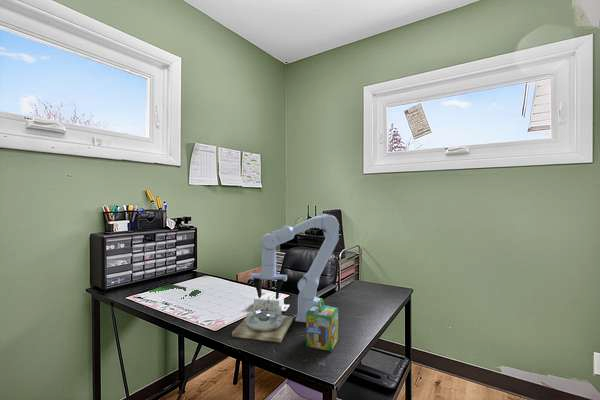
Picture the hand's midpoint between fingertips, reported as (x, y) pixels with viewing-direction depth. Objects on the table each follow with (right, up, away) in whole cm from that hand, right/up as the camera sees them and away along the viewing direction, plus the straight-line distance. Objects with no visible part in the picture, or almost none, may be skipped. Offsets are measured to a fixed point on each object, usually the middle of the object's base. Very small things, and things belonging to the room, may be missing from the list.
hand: (268, 297), depth 114 cm
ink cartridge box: (-7, -7, +16) cm, 19 cm away
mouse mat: (-53, -9, +30) cm, 61 cm away
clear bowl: (-1, -8, -6) cm, 10 cm away
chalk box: (+20, -10, -17) cm, 28 cm away
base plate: (-1, -9, -6) cm, 11 cm away
